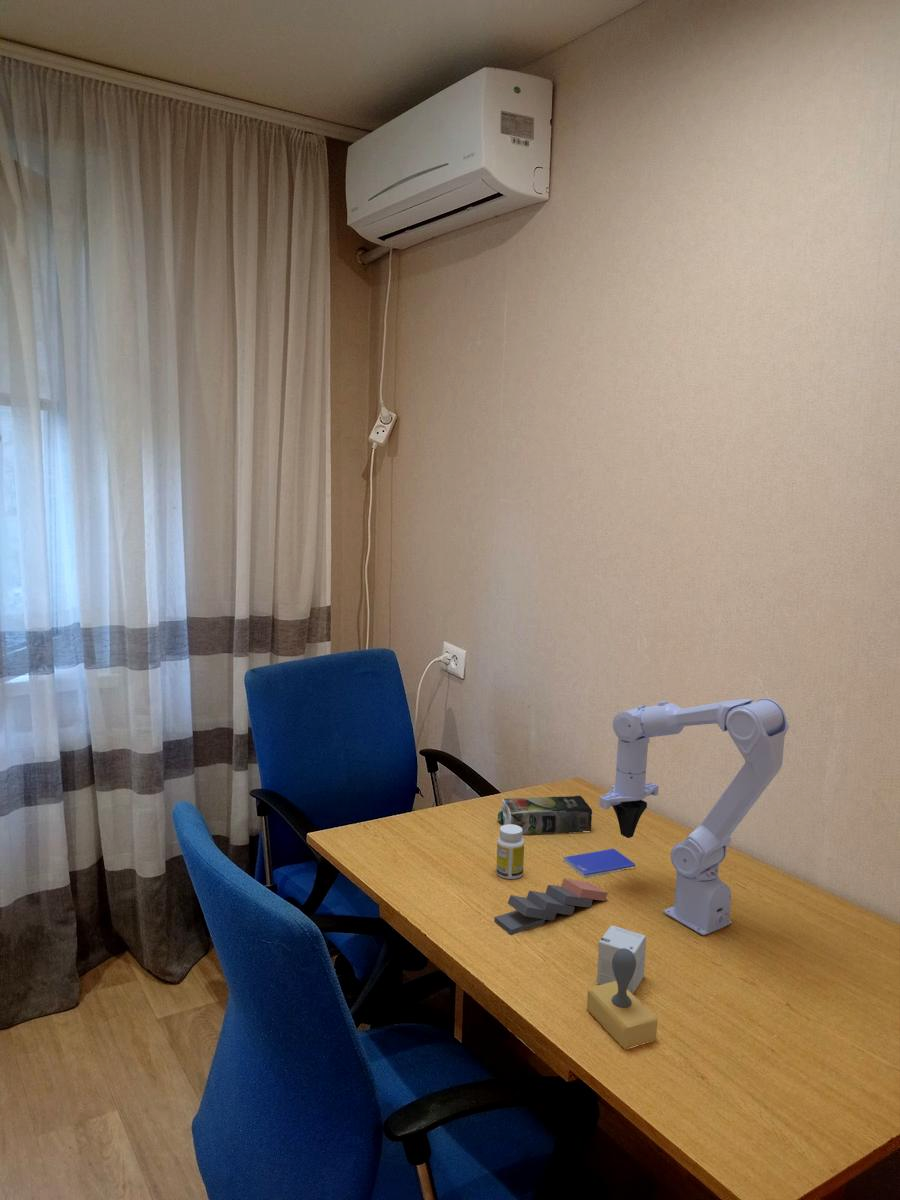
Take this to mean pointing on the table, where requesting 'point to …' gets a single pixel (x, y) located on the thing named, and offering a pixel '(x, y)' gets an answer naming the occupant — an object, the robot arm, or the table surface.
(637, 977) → the skincare box
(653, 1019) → the rubber stamp
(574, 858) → the hard drive
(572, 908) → the domino
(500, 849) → the supplement bottle
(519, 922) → the domino
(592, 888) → the domino
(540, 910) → the domino
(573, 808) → the juice carton
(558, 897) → the domino
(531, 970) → the table surface
